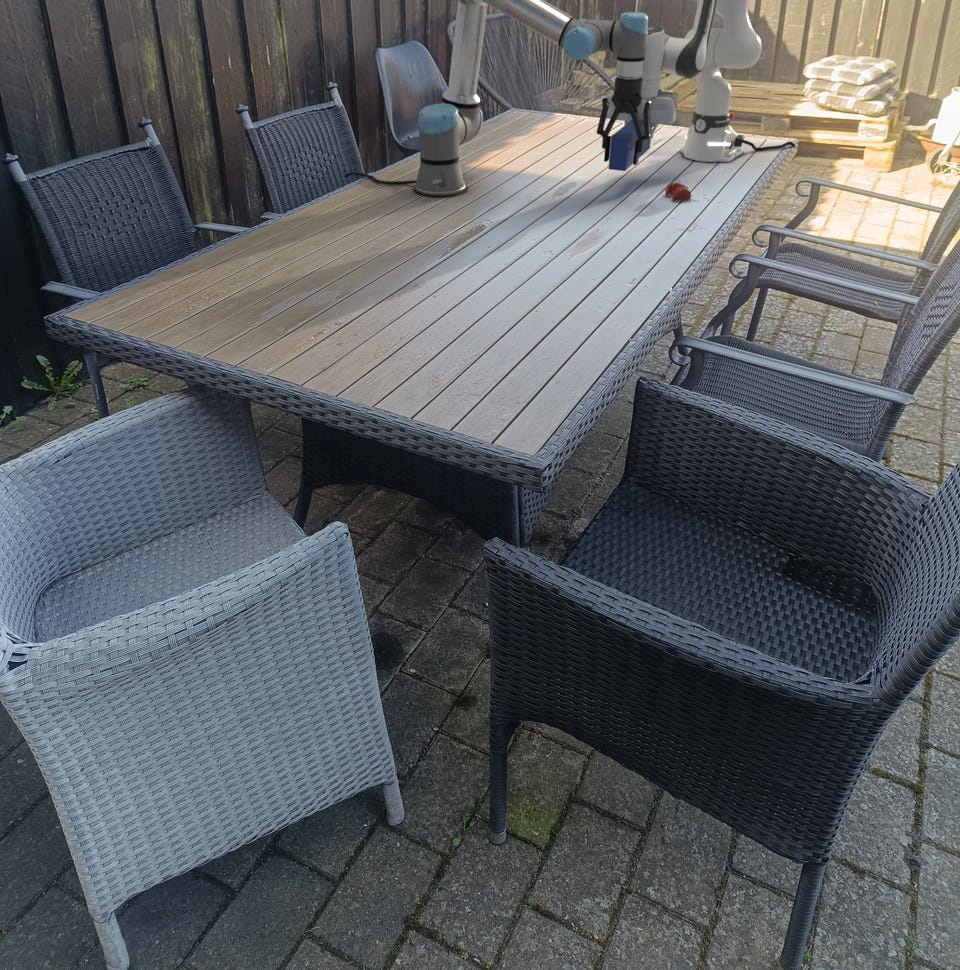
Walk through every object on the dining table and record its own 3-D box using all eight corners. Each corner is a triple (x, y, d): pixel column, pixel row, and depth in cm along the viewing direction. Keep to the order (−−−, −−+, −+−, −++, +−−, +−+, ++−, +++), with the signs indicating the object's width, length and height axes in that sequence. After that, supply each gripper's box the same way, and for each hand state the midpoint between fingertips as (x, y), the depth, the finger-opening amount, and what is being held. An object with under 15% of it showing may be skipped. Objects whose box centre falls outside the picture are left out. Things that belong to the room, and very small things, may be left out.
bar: (625, 171, 242) (628, 137, 237) (608, 169, 244) (611, 136, 239) (649, 148, 263) (653, 117, 258) (634, 146, 265) (637, 115, 259)
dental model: (681, 178, 253) (693, 186, 247) (680, 192, 255) (692, 200, 249) (664, 180, 252) (676, 188, 246) (663, 194, 254) (674, 202, 248)
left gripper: (669, 77, 232) (659, 162, 245) (596, 71, 239) (590, 155, 252) (663, 82, 226) (652, 169, 239) (588, 76, 233) (582, 161, 246)
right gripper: (681, 89, 249) (675, 138, 257) (615, 83, 256) (611, 131, 264) (677, 93, 245) (670, 143, 253) (609, 87, 251) (605, 136, 260)
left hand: (621, 162), depth 246 cm, fingers open, 8 cm apart
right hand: (639, 137), depth 259 cm, fingers closed on bar, 5 cm apart
